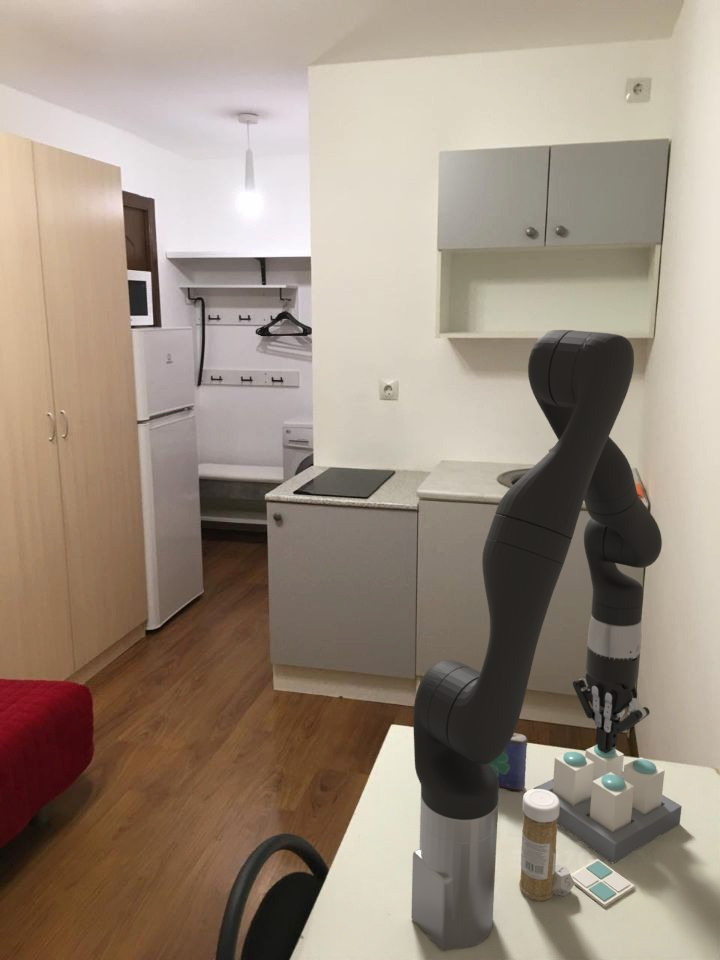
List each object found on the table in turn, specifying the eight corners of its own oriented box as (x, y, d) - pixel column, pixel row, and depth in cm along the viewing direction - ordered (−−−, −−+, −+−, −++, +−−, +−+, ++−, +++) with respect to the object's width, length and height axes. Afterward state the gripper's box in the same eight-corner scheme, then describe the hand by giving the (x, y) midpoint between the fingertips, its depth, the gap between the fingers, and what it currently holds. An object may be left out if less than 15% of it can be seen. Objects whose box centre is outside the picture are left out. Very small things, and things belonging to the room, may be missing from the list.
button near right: (612, 834, 106) (615, 793, 105) (589, 818, 109) (592, 778, 108) (630, 823, 108) (634, 783, 107) (607, 808, 112) (610, 769, 110)
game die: (579, 890, 99) (580, 870, 98) (562, 904, 97) (564, 884, 96) (556, 875, 102) (557, 856, 101) (539, 889, 99) (541, 869, 99)
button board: (613, 863, 104) (615, 844, 103) (532, 805, 116) (533, 788, 116) (679, 823, 112) (681, 806, 111) (597, 773, 124) (598, 757, 124)
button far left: (603, 797, 116) (607, 759, 115) (583, 784, 119) (585, 747, 118) (620, 788, 118) (624, 751, 117) (600, 776, 121) (602, 739, 120)
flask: (526, 786, 121) (529, 725, 119) (520, 796, 119) (524, 734, 116) (472, 769, 125) (474, 710, 123) (465, 778, 123) (467, 718, 121)
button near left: (573, 807, 112) (576, 768, 110) (552, 793, 115) (555, 755, 114) (591, 798, 114) (594, 759, 113) (570, 784, 117) (573, 747, 116)
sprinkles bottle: (561, 890, 99) (567, 798, 96) (541, 908, 96) (546, 814, 93) (531, 871, 102) (536, 782, 100) (511, 888, 99) (515, 797, 96)
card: (604, 907, 96) (604, 903, 96) (567, 878, 101) (567, 875, 101) (634, 888, 100) (634, 884, 99) (597, 861, 104) (597, 857, 104)
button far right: (643, 816, 110) (647, 776, 109) (620, 801, 113) (624, 763, 112) (660, 806, 112) (664, 767, 111) (637, 792, 115) (641, 754, 114)
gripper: (562, 635, 117) (556, 737, 121) (635, 668, 106) (625, 779, 110) (594, 624, 121) (587, 723, 125) (668, 655, 110) (658, 762, 114)
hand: (605, 749), depth 117 cm, fingers closed
